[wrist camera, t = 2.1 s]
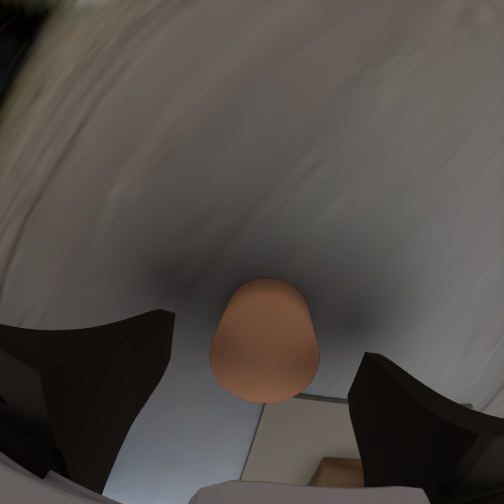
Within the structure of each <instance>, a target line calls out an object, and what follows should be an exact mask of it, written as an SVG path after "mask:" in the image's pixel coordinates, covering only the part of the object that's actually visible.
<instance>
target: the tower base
mask: <svg viewBox="0 0 504 504" xmlns="http://www.w3.org/2000/svg"><path fill="white" fill-rule="evenodd" d="M307 486H318V487H347V488H360V487H364V478H363V468H362V463H361V459H356V458H333V457H323V458H322V460H321V462H320V464H319V466H318V467H317V469H316V471H315V473H314V474H313V476H312V478H311V479H310V481H309V483H308V485H307Z"/></svg>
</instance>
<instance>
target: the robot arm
mask: <svg viewBox="0 0 504 504" xmlns="http://www.w3.org/2000/svg"><path fill="white" fill-rule="evenodd" d="M174 320H175V313H173V312H169V311H165V310H161V309H158V310H154V311H150V312H147V313H144V314H141V315H138V316H135V317H131V318H128V319H125V320H121V321H118V322H114V323H110V324H106V325H102V326H97V327H91V328H84V329H75V330H35V329H25V328H18V327H13V326H7V325H2V324H0V504H122V503H119V502H116V501H114V500H112V499H109V498H107V497H104V496H102V493H103V490H104V487H105V485H106V482H107V480H108V477H109V474H110V472H111V469H112V467H113V464H114V462H115V460H116V458H117V455H118V453H119V451H120V448H121V446H122V444H123V442H124V440H125V438H126V436H127V433H128V431H129V429H130V427H131V425H132V424H133V422H134V420H135V418H136V417H137V415H138V414H139V412H140V411H141V409H142V408H143V406H144V405H145V403H146V402H147V400H148V399H149V397H150V396H151V394H152V393H153V391H154V390H155V388H156V386H157V385H158V383H159V382H160V380H161V379H162V376H163V374H164V372H165V370H166V368H167V366H168V363H169V361H170V357H171V347H172V338H173V329H174ZM348 405H349V414H350V419H351V423H352V427H353V431H354V435H355V438H356V442H357V446H358V450H359V454H360V458H361V463H362V468H363V478H364V487H360V488H347V487H318V486H303V485H292V484H283V483H274V482H267V481H238V480H231V481H227V482H223V483H219V484H215V485H211V486H207V487H203V488H200V489H199V490H198V491H197V493H196V494H195V495H194V496H193V497H192V498H191V499H190V500H189V504H504V419H503V418H499V417H495V416H491V415H487V414H484V413H481V412H478V411H475V410H472V409H470V408H467V407H465V406H462V405H460V404H458V403H456V402H454V401H452V400H450V399H448V398H446V397H444V396H442V395H440V394H439V393H437V392H435V391H434V390H432V389H430V388H429V387H427V386H426V385H424V384H423V383H421V382H420V381H418V380H417V379H415V378H414V377H413V376H411V375H410V374H409V373H407V372H406V371H404V370H403V369H402V368H400V367H399V366H398V365H396V364H395V363H393V362H392V361H391V360H389V359H388V358H386V357H384V356H383V355H381V354H376V353H369V352H365V354H364V356H363V359H362V361H361V364H360V366H359V369H358V371H357V374H356V376H355V379H354V381H353V383H352V386H351V388H350V390H349V393H348Z"/></svg>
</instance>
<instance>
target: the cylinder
mask: <svg viewBox="0 0 504 504" xmlns="http://www.w3.org/2000/svg"><path fill="white" fill-rule="evenodd" d="M209 358H210V365H211V369H212V371H213V374H214V375H215V377H216V379H217V380H218V382H219V383H220V384H221V385H222V386H223V387H224V388H225V389H226V390H227V391H229V392H230V393H232V394H233V395H235V396H237V397H239V398H241V399H244V400H247V401H251V402H256V403H274V402H280V401H283V400H287V399H289V398H291V397H293V396H295V395H297V394H299V393H300V392H301V391H303V390H304V389H305V388H306V387H307V386H308V385H309V384H310V383H311V381H312V380H313V378H314V377H315V374H316V372H317V370H318V366H319V359H320V357H319V348H318V344H317V340H316V336H315V332H314V328H313V324H312V320H311V316H310V313H309V309H308V305H307V303H306V301H305V299H304V297H303V296H302V294H301V293H300V292H299V291H298V290H297V289H296V288H295V287H293V286H292V285H290V284H288V283H286V282H284V281H281V280H278V279H272V278H263V279H257V280H253V281H250V282H248V283H246V284H244V285H243V286H241V287H240V288H239V289H238V290H237V291H236V292H235V293H234V294H233V295H232V297H231V298H230V300H229V302H228V305H227V307H226V309H225V312H224V314H223V317H222V319H221V321H220V324H219V326H218V329H217V331H216V333H215V336H214V338H213V340H212V343H211V347H210V353H209Z"/></svg>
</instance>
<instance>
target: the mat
mask: <svg viewBox="0 0 504 504" xmlns="http://www.w3.org/2000/svg"><path fill="white" fill-rule="evenodd" d="M462 406H465V407H467V408H470V409H472V410H473V409H474V407H473V406H472V405H462ZM323 457H333V458H356V459H361V458H360V454H359V450H358V446H357V442H356V438H355V435H354V431H353V427H352V423H351V419H350V414H349V405H348V400H340V399H332V398H324V397H316V396H309V395H302V394H297V395H295V396H293V397H291V398H289V399H287V400H283V401H280V402H274V403H265V404H264V408H263V411H262V414H261V417H260V420H259V424H258V427H257V430H256V433H255V436H254V439H253V442H252V445H251V448H250V451H249V454H248V457H247V460H246V463H245V466H244V469H243V472H242V475H241V478H240V481H267V482H274V483H283V484H292V485H303V486H307V485H308V483H309V481H310V479H311V478H312V476H313V474H314V473H315V471H316V469H317V467H318V466H319V464H320V462H321V460H322V458H323Z"/></svg>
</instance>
